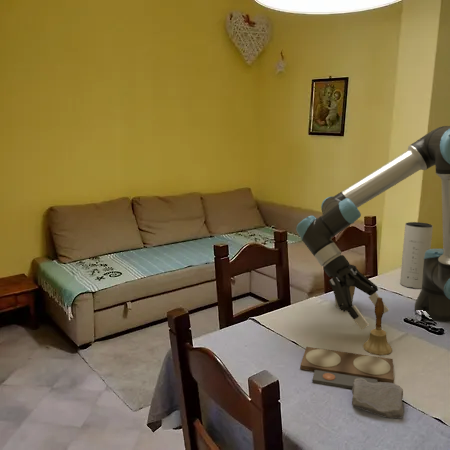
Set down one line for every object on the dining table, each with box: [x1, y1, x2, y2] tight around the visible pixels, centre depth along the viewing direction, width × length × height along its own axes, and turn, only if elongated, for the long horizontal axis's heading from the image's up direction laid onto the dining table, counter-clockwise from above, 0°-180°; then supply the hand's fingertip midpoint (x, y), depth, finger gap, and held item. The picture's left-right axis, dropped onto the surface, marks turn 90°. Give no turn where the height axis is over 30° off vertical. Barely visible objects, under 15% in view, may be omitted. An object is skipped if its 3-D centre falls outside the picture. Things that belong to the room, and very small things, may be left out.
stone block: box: [351, 379, 405, 419], centre depth 107 cm, size 12×5×10 cm
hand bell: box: [362, 297, 393, 356], centre depth 132 cm, size 8×8×16 cm
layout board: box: [299, 346, 395, 384], centre depth 124 cm, size 24×11×2 cm, turn 71°
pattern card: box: [311, 370, 378, 390], centre depth 116 cm, size 16×5×1 cm, turn 71°
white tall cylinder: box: [399, 221, 434, 290], centre depth 183 cm, size 11×10×26 cm
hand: (375, 319), depth 132 cm, fingers open, 13 cm apart
